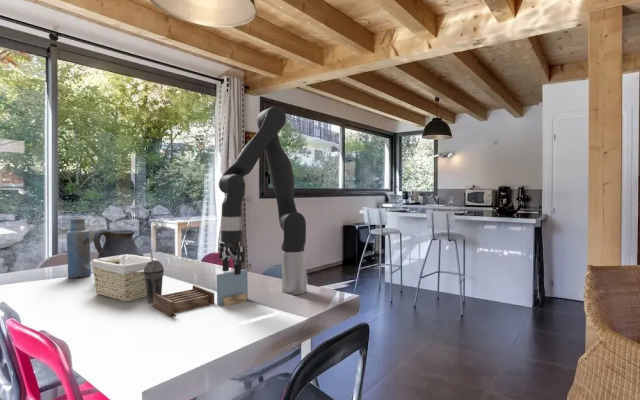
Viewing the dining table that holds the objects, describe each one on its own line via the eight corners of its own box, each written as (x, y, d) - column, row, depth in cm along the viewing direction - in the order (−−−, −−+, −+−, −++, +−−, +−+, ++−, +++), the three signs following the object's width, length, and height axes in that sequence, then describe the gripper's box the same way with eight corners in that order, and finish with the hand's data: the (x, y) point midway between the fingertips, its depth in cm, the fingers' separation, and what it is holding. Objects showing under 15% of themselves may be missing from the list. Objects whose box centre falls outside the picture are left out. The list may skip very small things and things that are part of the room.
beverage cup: (168, 299, 146) (167, 248, 145) (155, 304, 139) (153, 250, 138) (153, 297, 148) (152, 247, 148) (139, 302, 141) (138, 250, 141)
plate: (246, 298, 143) (245, 269, 143) (247, 298, 142) (247, 269, 142) (217, 304, 135) (216, 274, 134) (218, 305, 134) (218, 275, 133)
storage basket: (162, 294, 154) (161, 258, 154) (123, 304, 140) (122, 265, 140) (128, 286, 167) (128, 253, 166) (90, 295, 153) (89, 259, 153)
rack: (195, 297, 148) (194, 285, 147) (214, 306, 136) (214, 292, 136) (153, 306, 136) (152, 293, 136) (170, 317, 125) (170, 302, 125)
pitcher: (153, 277, 183) (152, 226, 182) (108, 287, 164) (106, 231, 164) (129, 273, 194) (128, 225, 193) (84, 282, 175) (83, 228, 175)
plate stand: (239, 300, 143) (239, 291, 143) (247, 303, 140) (247, 293, 139) (218, 305, 137) (218, 296, 137) (225, 308, 133) (225, 298, 133)
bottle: (83, 278, 183) (81, 217, 182) (63, 278, 183) (61, 217, 182) (95, 274, 192) (93, 215, 191) (76, 274, 192) (74, 216, 192)
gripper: (250, 229, 135) (250, 274, 135) (230, 226, 145) (230, 268, 146) (232, 231, 130) (232, 277, 130) (212, 228, 140) (212, 271, 141)
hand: (231, 272), depth 138 cm, fingers open, 8 cm apart
